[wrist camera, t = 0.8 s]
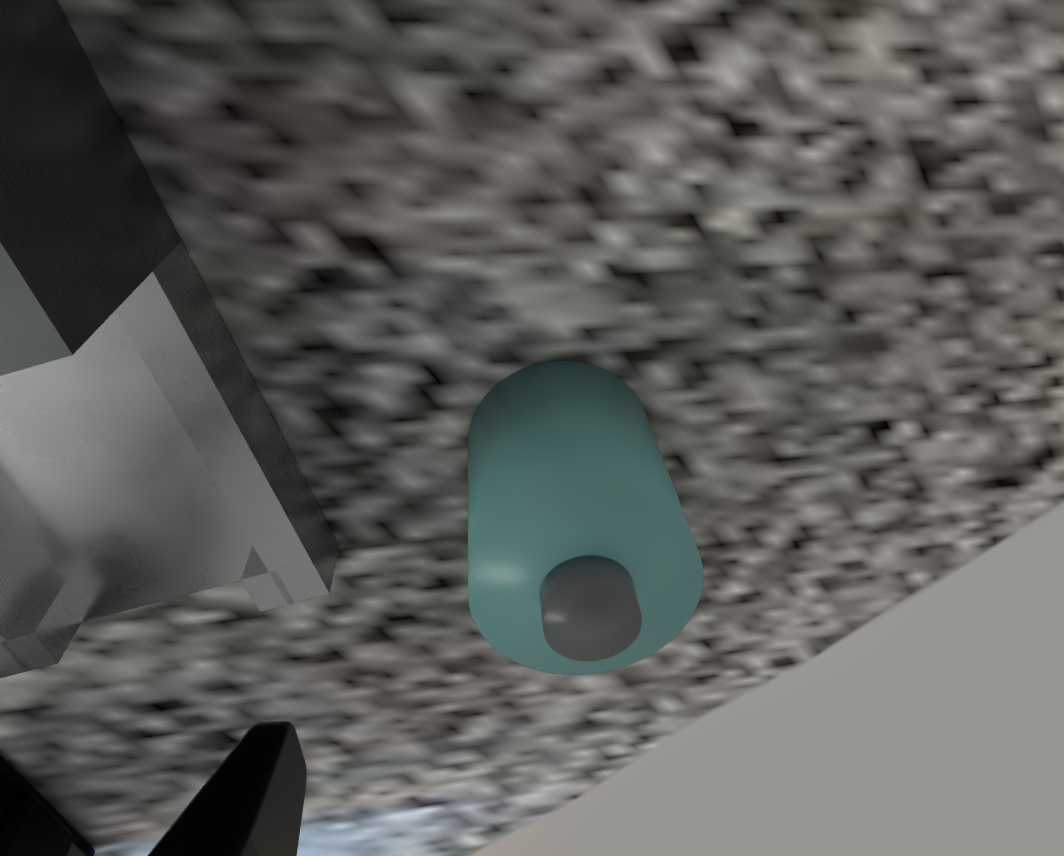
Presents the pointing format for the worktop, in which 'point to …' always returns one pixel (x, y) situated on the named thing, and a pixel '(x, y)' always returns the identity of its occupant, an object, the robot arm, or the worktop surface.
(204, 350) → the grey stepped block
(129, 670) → the worktop surface
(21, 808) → the robot arm
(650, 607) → the teal bottle with cap
